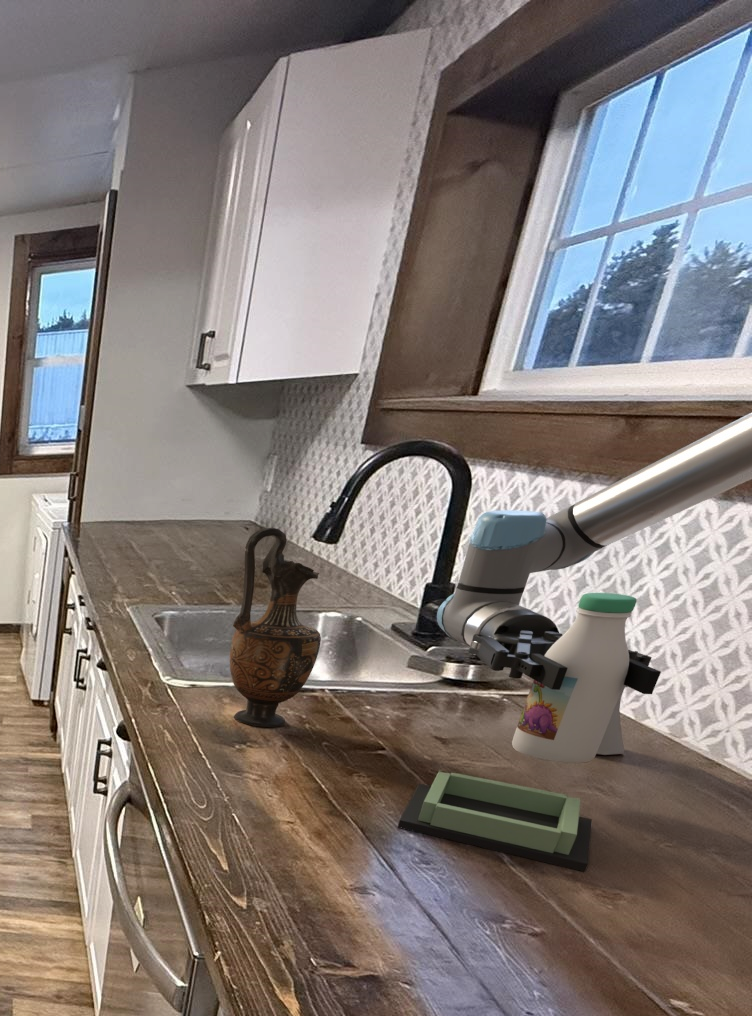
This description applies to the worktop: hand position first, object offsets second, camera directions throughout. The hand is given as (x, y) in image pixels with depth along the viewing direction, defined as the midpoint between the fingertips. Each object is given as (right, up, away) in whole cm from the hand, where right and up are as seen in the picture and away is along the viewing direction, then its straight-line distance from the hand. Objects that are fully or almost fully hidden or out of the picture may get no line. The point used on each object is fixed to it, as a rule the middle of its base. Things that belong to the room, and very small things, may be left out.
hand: (605, 680), depth 96 cm
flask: (+21, -7, +22) cm, 31 cm away
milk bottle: (+2, -8, +8) cm, 12 cm away
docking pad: (-12, -17, +1) cm, 21 cm away
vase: (-17, -2, +37) cm, 41 cm away
